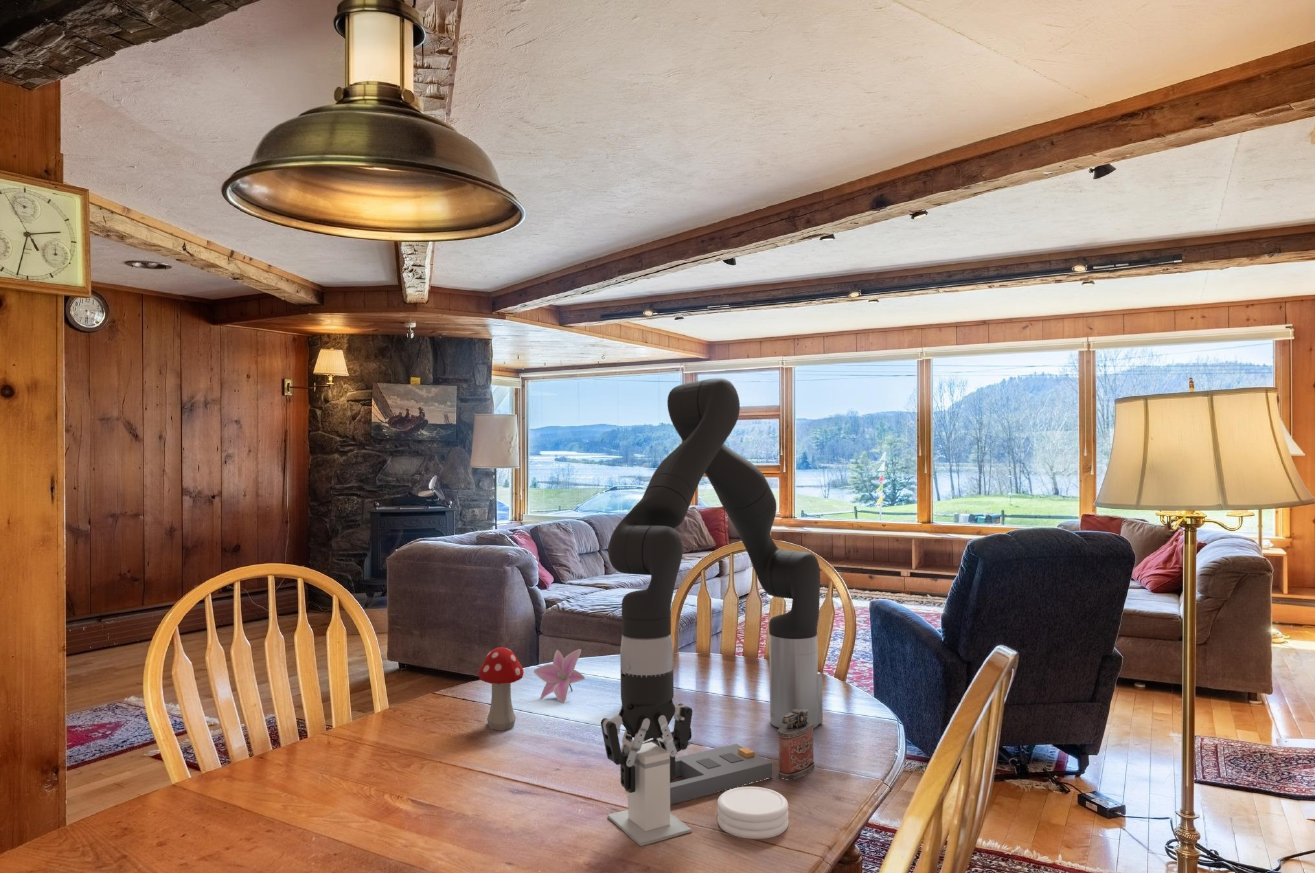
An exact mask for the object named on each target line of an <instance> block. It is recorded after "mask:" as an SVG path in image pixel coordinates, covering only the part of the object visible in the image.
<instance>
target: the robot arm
mask: <svg viewBox="0 0 1315 873" xmlns="http://www.w3.org/2000/svg"><path fill="white" fill-rule="evenodd" d="M666 405H667V411H668V415H669V418H670V421H671V424H672V425H673V427H674V429H675V431H676V432H677V434H678V436H679V437H680V439H681V440H682V441H683V442H681V443H680V444H679V445H678V446H677V447H676V448H675V449H673V451H671V452H670V453H669V454H668V455H667V456H666V457H665V458H664V459H663V460H662V461H661V462H660V464H658V466H657V468H656V469H655V471H654V472H653V474H652V476H651V478H650V480H649V482H648V484H647V486H646V489H645V491H644V494H643V496H642V498H641V499H640V500H639V501H638V502H637V503H636V504H635V505H634V506H633V507H632V508H631V509H630V511H629V512H628V513H627V514H626V515H625V516H624V517H623V519H622V520H620V522H619V523H618V525H617V526H616V527H615V528H614V530H613V532H612V534H611V536H610V539H609V542H608V547H607V554H608V560H609V562H610V564H611V566H612V568H614V570H616V572H619V573H622V574H625V575H626V574H627V575H639V576H640V575H641V576H642V575H643V576H644V575H645V576H650V582H649V584H648V587H647V588H646V589H639V590H634V591H630V592H628V593H626V594H625V595H624V596H623V597H622V599H621V600H622V601H621V643H620V652H619V655H620V662H619V663H620V665H619V666H620V700H621V708H620V711H619V713H618V715H616V716H614V717H612V718H609V719H608V718H606V717H604V718H602V719H601V720H600V726H601V728H600V729H601V732H602V738H603V742H604V748H605V753H606V758H607V759H608V760H609V761H612V762H613V763H614V764H615V765H617V766H619V765H620V784H621V786H622V787H623V788H624V790H625V791H626V792H627V793H628V792H629V793H632V792H635V766H634V765H633V764H634V761H635V758H636V755H637V752H638V751H639V750H640V749H641V746H642V743H644V742H647V741H650V740H652V739H657V740H658V742H659V745H660V747H661V748H663V749H665V750H666V751H668V752H670V783H673V782H674V781H673V780H674V779H675V778H676V777H675V758H676V756H677V754H678V753H679V752H680V751H685V750H686V749H687V748H688V745H689V741H688V739H689V732H690V728H691V725H692V724H691V723H692V716H693V709H692V708H691V707H689V706H687V705H685V704H684V703H678V704H677V705H675V704H674V701H673V699H674V694H675V693H674V692H675V691H674V688H675V687H674V685H675V684H674V660H675V659H674V648H673V638H672V639H671V635H672V614H671V613H672V612H671V610H672V601H673V596H674V590H675V585H676V582H677V577H678V574H679V570H680V568H681V564H682V560H683V553H684V552H683V550H684V548H683V547H684V545H683V542H682V539H681V537H680V535H679V533H678V531H677V530H676V528H678V527H679V526H680V525H681V524H682V523H683V522H684V519H685V518H686V516H687V513H688V511H689V509H690V505H691V503H692V501H693V499H694V495H695V493H696V491H697V488H698V486H699V483H700V482H701V480H702V478H703V476H704V474H705V476H706V477H707V479H708V481H709V482H710V485H711V486H712V488H713V490H714V492H715V493H716V495H717V498H718V500H719V502H720V504H721V506H722V507H723V509H724V511H725V512H726V515H727V516H728V518H729V520H730V521H731V523H732V525H733V527H734V529H735V530H736V532H737V534H738V536H739V537H740V540H741V542H742V544H743V546H744V548H745V550H746V552H747V554H748V558H749V559H750V562H751V565H752V567H753V569H754V573H755V575H756V578H757V579H758V581H759V585H760V586H761V587H762V589H763V591H764V592H765V593H766V594H768V595H769V596H772V597H775V598H782V599H789V600H792V602H791V609H790V610H789V611H788V612H786V613H783V614H778V615H776V616H775V615H774V616H773V617H771V618H770V619H769V621H768V622H769V623H768V634H769V635H768V640H769V642H768V645H769V646H768V648H769V649H768V650H769V651H768V652H769V703H770V705H769V710H770V712H769V715H770V716H769V717H770V718H769V719H770V721H769V722H770V724H771V725H772V726H774V727H776V728H778V729H779V728H781V727H782V726H784V725H786V724H782V717H783V715H786V714H788V713H791V712H792V710H793V709H796V710H801V709H807V710H808V717H807V720H810V721H813V722H814V728H813V729H815V728H817V727H818V726H819V725H820V724H822V723H823V722H824V721H823V717H824V714H823V712H824V711H823V675H822V672H819V671H818V670H819V668H818V667H819V665H818V664H819V662H818V656H819V654H818V624H819V618H820V599H821V598H820V597H821V596H820V595H821V594H820V593H821V569H820V563H819V560H818V558H817V557H816V555H815V554H813V553H812V552H809V551H798V550H788V549H787V550H785V549H781V548H779V547H778V546H777V545H776V543H775V541H774V539H773V537H772V535H771V533H772V532H771V531H772V528H773V525H774V522H775V519H776V514H777V500H776V498H775V494H774V492H773V490H772V489H771V488H772V487H770V485H769V483H768V481H767V479H766V477H765V475H764V474H763V471H761V469H760V468H758V467H757V466H756V465H755V464H753V462H751V461H750V460H748V459H747V458H745V456H742V455H741V454H740V453H738V452H737V451H735V450H733V449H731V448H730V447H729V446H727V445H726V444H725V442H726V440H727V439H728V438H729V436H730V435H731V433H732V431H733V430H734V428H735V426H736V425H737V422H738V419H739V416H740V411H741V410H740V408H741V406H740V405H741V404H740V398H739V394H738V391H737V388H735V386H734V384H733V383H732V382H731V381H730V380H729V379H726V378H723V377H722V378H721V377H720V378H719V377H718V378H717V377H716V378H708V379H703V380H698V381H697V380H696V381H692V382H686V383H683V384H679V385H677V386H674V387H673V388H672V389H671V390H670V391H669V393H668V396H667V404H666ZM672 719H674V723H673V731H671V729H670V727H669V724H670V723H671V721H672ZM621 726H623V727H624V728H625V730H624V732H623V736H622V739H621V743H622V745H621V744H620V740H619V734H620V733H621ZM671 732H673V737H672V734H671Z"/></svg>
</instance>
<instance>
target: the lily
mask: <svg viewBox="0 0 1315 873" xmlns="http://www.w3.org/2000/svg"><path fill="white" fill-rule="evenodd" d="M581 652H582V649H581V648H578V649H576V650H573V651H572V652H570V653H569V654H567V655H566V656H565V657H564V655H563V653H562V652H561V651H560V650H558V649H556V651H555V652H554V655H553V661H552V663H550V664H549V663H548V664H544V665H541V666H539V667H537V668H536V669H534V670H533V673H534V674H535V676H537V677H538V678H539V679H540V680H541V681H543V682H545V684H544V687H543V689H542V692H541V695H540V699H543V698H545V697H548V695H550V694H552V693H554V695H555V697H556V698H557V699H558V701H559V702H560V703H561V704H565V702H566V700H567V695H568V691H569V688H570V691H571V692H573V691H574V690H573V687H572V685H571V684H573V683H577V682H581V681H583V680H585V679H586V678H585V676H584V675H583V674H582V673H581V672H579V671H578V670H576V669H575V667H576V665H577V664H578V663H577V662H578V660H579V658H580V655H581Z"/></svg>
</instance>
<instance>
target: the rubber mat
mask: <svg viewBox="0 0 1315 873" xmlns="http://www.w3.org/2000/svg"><path fill="white" fill-rule="evenodd" d="M607 818H608V819H609V820H610V821H611V822H612V823H613V824H615V825H616V826H617V828H619V829H620V830H621V831H622V832H623V833H624V834H626V835H627V836H628V837H629V838H631V839H632V840H633V841H634V842H635V843H636V844H637V845H638V846H639V847H643V846H646V845H650V844H653V843H657V842H661V841H664V840H667V839H668V840H669V839H672V838H675V837H679V836H681V835H684V834H689V833H692V828H691V827H689V826H688V825H687V824H686V823H684V822H683V821H681V820H680V819H679V818H677V817H676V816H675V815H674V814H672V812H670V825H667V826H664V827H660V828H656V829H653V830H649V831H644V830H643V829H642V828H640V827H639V826H638V825H637V824H635V823H634V822H633V821H631V820H630V819H629V818H628V809H626V810H622V811H617V812H614V813H610V814H607Z"/></svg>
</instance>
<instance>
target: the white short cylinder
mask: <svg viewBox="0 0 1315 873" xmlns="http://www.w3.org/2000/svg"><path fill="white" fill-rule="evenodd" d="M716 804H717V811H716V813H717V818H716V820H717V824H718V826H719V827H720V829H721V830H723V831H724V832H726V833H727V834H729V835H732V836H734V837H737V838H741V839H747V840H763V839H764V840H765V839H771V838H774V837H777V836H779V835H781V834H783V833H784V832H785V831H787V829H788V827H789V818H788V817H789V814H790V813H789V802H788V799H787V798H786V797H785V796H784V795H782V794H781V793H780V792H778V791H775V790H773V789H770V788H765V787H760V786H741V787H737V788H733V789H729V790H725V791H723V793H721V794H720V795H719V797H718V799H717V802H716Z"/></svg>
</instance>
